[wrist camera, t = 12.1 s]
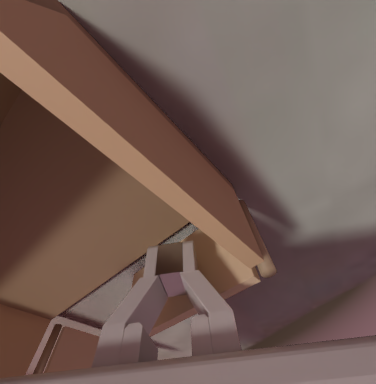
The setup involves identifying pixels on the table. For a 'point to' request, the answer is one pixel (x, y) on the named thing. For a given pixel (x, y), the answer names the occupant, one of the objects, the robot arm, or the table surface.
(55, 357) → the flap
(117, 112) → the carton
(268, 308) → the table surface
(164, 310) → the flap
